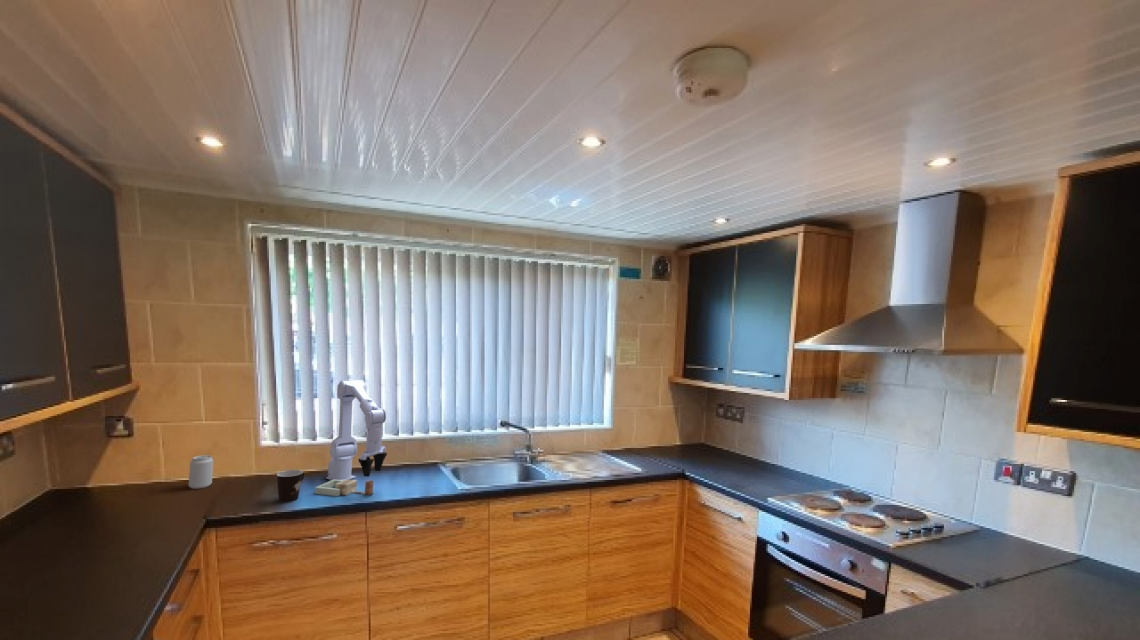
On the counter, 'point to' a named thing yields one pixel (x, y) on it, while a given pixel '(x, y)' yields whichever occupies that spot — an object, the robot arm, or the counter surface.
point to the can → (201, 472)
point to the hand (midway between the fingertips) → (372, 473)
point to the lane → (328, 488)
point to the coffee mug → (289, 485)
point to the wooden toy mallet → (354, 487)
